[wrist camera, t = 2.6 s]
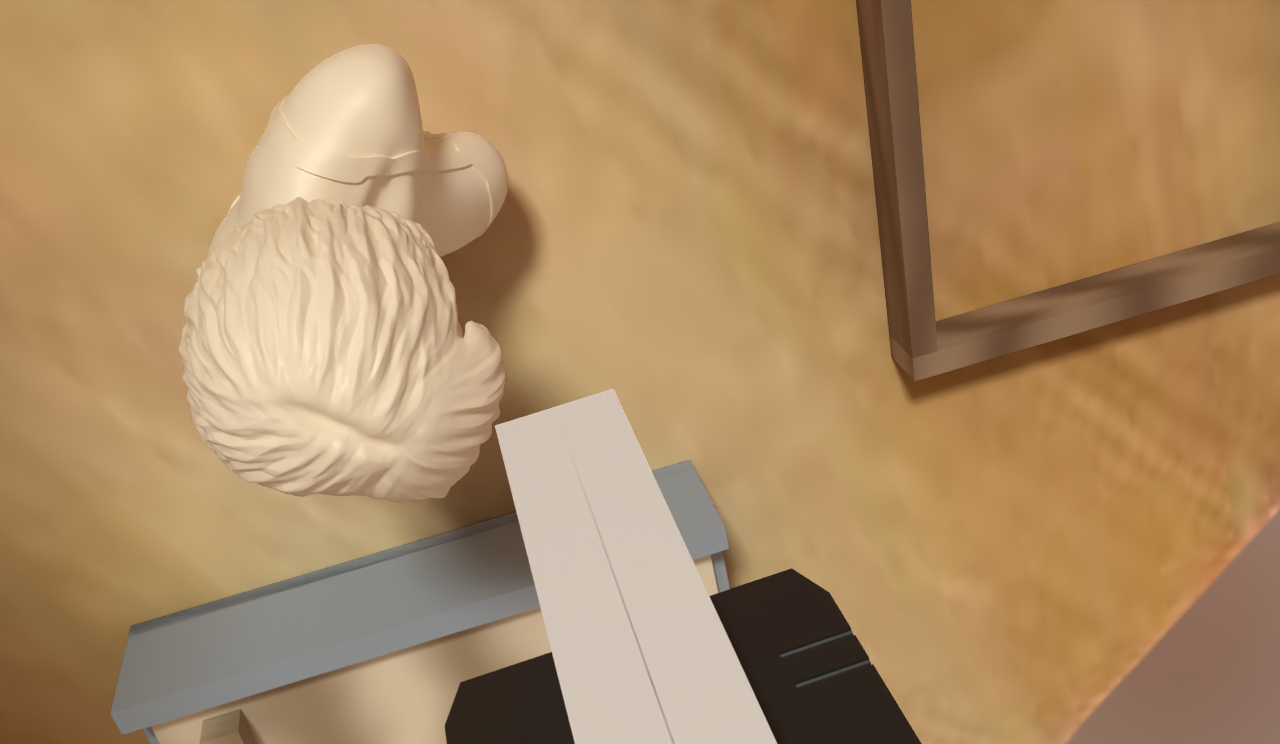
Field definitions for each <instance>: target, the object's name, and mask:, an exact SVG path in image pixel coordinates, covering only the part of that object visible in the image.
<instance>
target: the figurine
mask: <svg viewBox="0 0 1280 744" xmlns="http://www.w3.org/2000/svg"><path fill="white" fill-rule="evenodd" d="M507 189H508V175H507V170H506V166H505V163H504V161H503V159H502V157H501V155H500V153H499V152H498V150H497V149H496V148H495V146H494V145H493V144H492V143H491V142H489V141H488V140H487V139H486V138H484V137H483V136H481V135H479V134H476V133H473V132H465V131H460V132H450V133H443V134H431V133H429V132H426V131H423V127H422V121H421V114H420V108H419V102H418V96H417V91H416V86H415V82H414V78H413V75H412V72H411V69H410V67H409V65H408V64H407V62H406V61H405V59H404V58H403V57H402V56H401V55H400V54H399V53H398V52H397V51H396V50H394V49H392V48H391V47H388V46H385V45H381V44H363V45H358V46H354V47H351V48H348V49H345V50H343V51H340V52H338V53H336V54H334V55H332V56H331V57H329V58H327V59H325V60H324V61H322V62H321V63H319V64H318V65H317V66H315V67H314V68H313V69H312V70H310V71H309V72H308V73H307V74H306V75H305V76H304V77H303V78H302V79H301V80H300V81H299V82H298V84H297V85H296V86H295V88H294V89H293V90H292V92H291V93H290V94H288V95H287V96H286V97H284V98H283V99H282V100H281V101H280V102H279V103H278V104H277V105H276V106H275V107H274V109H273V111H272V113H271V115H270V119H269V123H268V125H267V127H266V129H265V131H264V133H263V135H262V137H261V139H260V140H259V142H258V144H257V145H256V146H255V148H254V149H253V151H252V153H251V154H250V156H249V159H248V161H247V164H246V168H245V172H244V177H243V182H242V188H241V193H240V195H239V196H238V197H237V198H236V199H235V201H234V202H233V204H232V206H231V208H230V210H229V212H228V213H227V214H226V216H225V217H224V219H223V220H222V222H221V224H220V225H219V227H218V229H217V231H216V233H215V235H214V237H213V239H212V242H211V245H210V248H209V251H208V255H207V259H206V260H205V261H204V262H202V264H201V267H199V268H197V269H196V272H197V275H198V280H197V282H196V283H195V285H194V289H193V291H192V292H191V293H190V294H189V295H188V296H187V297H186V299H185V308H184V314H185V318H186V325H185V327H184V328H183V330H182V335H181V343H180V347H179V353H180V356H181V358H182V360H183V364H184V367H185V372H184V375H183V377H182V379H183V381H184V383H185V384H186V385H187V387H188V393H187V400H188V401H189V403H190V409H191V412H192V418H193V423H194V425H195V426H196V428H197V429H198V431H199V432H200V436H201V438H202V439H203V441H204V442H205V443H206V445H207V447H208V448H210V449H211V450H213V451H214V453H215V455H216V456H217V458H218V459H219V460H220V461H222V462H223V463H224V464H225V465H226V466H227V467H228V468H229V469H230V470H231V471H233V472H234V473H236V474H238V476H239V477H240V478H242V479H243V480H245V481H246V482H252V483H257V484H260V485H262V486H264V487H269V488H272V489H275V490H278V491H280V492H283V493H286V494H292V495H295V496H301V497H302V496H308V495H311V494H317V493H318V494H324V495H332V496H349V495H361V496H369V497H371V498H374V499H386V500H390V501H395V502H397V501H405V500H425V499H428V498H444V497H445V496H446V495H447V494H448V492H449V489H450V488H451V486H453V485H454V484H456V482H457V481H459V480H460V479H461V478H462V477H463V476H464V475H465V474H467V473H468V471H469V469H470V466H471V465H472V464H474V463H475V462H476V461H477V459H478V457H479V453H480V445H481V444H483V443H484V442H486V441H487V440H488V439H489V438H490V436H491V434H492V423H493V422H494V421H495V420H496V419H497V418H498V417H499V416H500V409H499V402H500V400H501V399H502V397H503V394H504V386H505V381H506V372H505V369H504V366H503V364H502V362H501V361H502V351H501V348H500V345H499V344H498V342H497V341H496V340H495V339H494V338H493V336H492V335H491V334H490V331H489V330H488V329H487V328H486V327H485V326H484V325H482V324H479V323H476V322H473V321H468V322H467V323H466V325H465V334H463V331H462V328H461V326H460V324H459V322H458V312H457V305H456V296H455V288H454V286H453V284H452V283H451V281H450V279H449V273H448V270H447V268H446V266H445V264H444V262H443V261H442V259H441V258H440V257H442V256H444V255H447V254H449V253H451V252H454V251H456V250H458V249H460V248H462V247H463V246H465V245H467V244H468V243H470V242H471V241H472V240H475V239H477V238H478V237H480V236H481V235H482V234H483V233H484V232H485V231H486V230H487V229H488V227H489V226H490V225H491V223H492V222H493V220H494V219H495V217H496V216H497V214H498V213H499V211H500V209H501V207H502V205H503V203H504V200H505V198H506V194H507Z"/></svg>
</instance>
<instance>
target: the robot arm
mask: <svg viewBox="0 0 1280 744" xmlns="http://www.w3.org/2000/svg"><path fill="white" fill-rule="evenodd" d="M495 429H496V433H497V437H498V441H499V445H500V449H501V453H502V457H503V461H504V465H505V468H506V472H507V476H508V480H509V484H510V488H511V492H512V496H513V500H514V504H515V508H516V512H517V516H518V520H519V524H520V528H521V532H522V536H523V540H524V544H525V548H526V552H527V556H528V560H529V564H530V568H531V572H532V575H533V579H534V583H535V587H536V591H537V595H538V599H539V603H540V607H541V611H542V615H543V619H544V623H545V627H546V631H547V635H548V639H549V643H550V647H551V651H552V652H550V653H547V654H544V655H541V656H538V657H535V658H532V659H529V660H526V661H523V662H520V663H517V664H514V665H511V666H508V667H505V668H502V669H499V670H496V671H493V672H490V673H487V674H484V675H481V676H478V677H475V678H472V679H469V680H466V681H463V682H460V685H459V687H458V690H457V693H456V696H455V698H454V701H453V704H452V707H451V709H450V712H449V715H448V718H447V720H446V723H445V734H446V742H447V744H921V742H920V741H919V739H918V737H917V736H916V734H915V732H914V731H913V729H912V727H911V726H910V724H909V723H908V721H907V719H906V718H905V716H904V714H903V713H902V711H901V709H900V708H899V706H898V704H897V703H896V701H895V700H894V698H893V696H892V695H891V693H890V691H889V690H888V688H887V686H886V685H885V683H884V682H883V680H882V678H881V677H880V675H879V673H878V672H877V670H876V668H875V667H874V665H871V663H870V660H869V657H868V655H867V654H866V652H865V650H864V649H863V647H862V645H861V644H860V642H859V641H858V639H857V637H856V636H855V635H853V633H852V631H851V627H850V626H849V624H848V622H847V621H846V619H845V618H844V616H843V614H842V613H841V611H840V609H839V608H838V606H837V604H836V603H835V601H834V600H833V598H832V596H831V595H830V593H829V592H827V591H826V590H824V589H823V588H821V587H820V586H818V585H817V584H815V583H813V582H812V581H810V580H809V579H807V578H806V577H804V576H803V575H801V574H800V573H798V572H796V571H795V570H793V569H789V570H786V571H783V572H780V573H777V574H774V575H771V576H768V577H765V578H762V579H759V580H756V581H753V582H750V583H747V584H744V585H741V586H738V587H735V588H732V589H729V590H726V591H723V592H720V593H717V594H714V595H711V596H709V595H708V592H707V590H706V588H705V586H704V584H703V581H702V579H701V577H700V575H699V573H698V571H697V568H696V566H695V564H694V562H693V560H692V558H691V555H690V553H689V551H688V549H687V547H686V545H685V542H684V540H683V538H682V536H681V534H680V532H679V529H678V527H677V525H676V523H675V521H674V519H673V516H672V514H671V512H670V510H669V508H668V506H667V503H666V501H665V499H664V497H663V495H662V493H661V490H660V488H659V486H658V484H657V482H656V480H655V477H654V475H653V473H652V471H651V469H650V467H649V464H648V462H647V460H646V458H645V456H644V454H643V451H642V449H641V447H640V445H639V443H638V441H637V438H636V436H635V434H634V432H633V430H632V428H631V425H630V423H629V421H628V419H627V417H626V415H625V412H624V410H623V408H622V406H621V404H620V401H619V399H618V397H617V395H616V393H615V391H614V389H610V390H607V391H604V392H601V393H598V394H594V395H591V396H588V397H585V398H582V399H578V400H575V401H572V402H569V403H565V404H562V405H559V406H556V407H553V408H549V409H546V410H543V411H540V412H537V413H533V414H530V415H527V416H524V417H521V418H517V419H514V420H511V421H508V422H505V423H501V424H498V425H495Z"/></svg>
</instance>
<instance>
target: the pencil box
mask: <svg viewBox="0 0 1280 744" xmlns="http://www.w3.org/2000/svg"><path fill="white" fill-rule="evenodd" d="M652 473H653V475H654V477H655V480H656V482H657V484H658V486H659V488H660V490H661V493H662V495H663V497H664V499H665V501H666V503H667V506H668V508H669V510H670V512H671V514H672V516H673V519H674V521H675V523H676V525H677V527H678V529H679V532H680V534H681V536H682V538H683V540H684V542H685V545H686V547H687V549H688V551H689V553H690V555H691V558H692V560H694V559H698V558H701V557H704V556H707V555H711V560H712V565H713V570H714V575H715V580H716V585H717V590H718V593H720V592H723V591H726V590H729V589H730V587H729V582H728V577H727V571H726V566H725V561H724V556H723V551H724V550H727V549H729V545H728V539H727V534H726V529H725V526H724V524H723V522H722V520H721V518H720V516H719V514H718V512H717V510H716V509H715V507H714V505H713V503H712V501H711V499H710V497H709V495H708V493H707V491H706V489H705V487H704V486H703V484H702V482H701V480H700V478H699V476H698V474H697V472H696V470H695V468H694V466H693V465H692V463H691V461H690V460H689V461H686V462H682V463H679V464H676V465H672V466H669V467H665V468H662V469H659V470H655V471H652ZM538 607H540V603H539V599H538V595H537V591H536V587H535V583H534V579H533V575H532V572H531V568H530V564H529V560H528V556H527V552H526V548H525V544H524V540H523V536H522V532H521V528H520V524H519V520H518V516H517V512H514V513H510V514H507V515H504V516H500V517H497V518H494V519H490V520H487V521H483V522H480V523H477V524H473V525H470V526H467V527H463V528H460V529H456V530H453V531H450V532H446V533H443V534H440V535H436V536H433V537H430V538H426V539H423V540H419V541H416V542H413V543H409V544H406V545H403V546H399V547H396V548H392V549H389V550H386V551H382V552H379V553H376V554H372V555H369V556H365V557H362V558H359V559H355V560H352V561H349V562H345V563H342V564H338V565H335V566H332V567H328V568H325V569H322V570H318V571H315V572H312V573H308V574H305V575H301V576H298V577H295V578H291V579H288V580H285V581H281V582H278V583H274V584H271V585H268V586H264V587H261V588H258V589H254V590H251V591H247V592H244V593H241V594H237V595H234V596H231V597H227V598H224V599H221V600H217V601H214V602H210V603H207V604H204V605H200V606H197V607H194V608H190V609H187V610H183V611H180V612H177V613H173V614H170V615H167V616H163V617H160V618H156V619H153V620H150V621H146V622H143V623H140V624H136V625H133V626H131V628H130V632H129V637H128V641H127V645H126V649H125V654H124V658H123V662H122V666H121V670H120V675H119V679H118V683H117V687H116V692H115V696H114V700H113V704H112V708H111V713H110V714H111V716H112V718H113V720H114V721H115V723H116V725H117V727H118V728H119V730H120V732H121V734H122V735H124V734H127V733H130V732H134V731H137V730H140V729H143V731H144V733H145V734H146V736H147V738H148V740H149V742H150V743H151V744H160V743H159V741H158V739H157V737H156V735H155V734H154V732H153V730H152V728H151V726H153V725H156V724H160V723H163V722H166V721H169V720H173V719H176V718H179V717H182V716H186V715H189V714H192V713H196V712H199V711H202V710H205V709H209V708H212V707H215V706H218V705H222V704H225V703H228V702H231V701H235V700H238V699H241V698H244V697H248V696H251V695H254V694H257V693H261V692H264V691H267V690H271V689H274V688H277V687H280V686H284V685H287V684H290V683H293V682H297V681H300V680H303V679H306V678H310V677H313V676H316V675H319V674H323V673H326V672H329V671H332V670H336V669H339V668H342V667H346V666H349V665H352V664H355V663H359V662H362V661H365V660H368V659H372V658H375V657H378V656H381V655H385V654H388V653H391V652H394V651H398V650H401V649H404V648H407V647H411V646H414V645H417V644H421V643H424V642H427V641H430V640H434V639H437V638H440V637H443V636H447V635H450V634H453V633H456V632H460V631H463V630H466V629H469V628H473V627H476V626H479V625H482V624H486V623H489V622H492V621H496V620H499V619H502V618H505V617H509V616H512V615H515V614H518V613H522V612H525V611H528V610H531V609H535V608H538Z"/></svg>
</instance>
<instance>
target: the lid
mask: <svg viewBox="0 0 1280 744" xmlns="http://www.w3.org/2000/svg"><path fill="white" fill-rule="evenodd" d="M693 562H694V564H695V566H696V568H697V571H698V573H699V575H700V577H701V579H702V581H703V584H704V586H705V588H706V590H707V592H708V595H709V596H711V595H714V594H717V593H718V590H717V585H716V580H715V575H714V570H713V565H712V560H711V555H707V556H704V557H701V558H698V559H694V560H693ZM550 652H552V651H551V647H550V643H549V639H548V635H547V631H546V627H545V623H544V619H543V615H542V611H541V607H538V608H535V609H531V610H528V611H525V612H522V613H518V614H515V615H512V616H509V617H505V618H502V619H499V620H496V621H492V622H489V623H486V624H482V625H479V626H476V627H473V628H469V629H466V630H463V631H460V632H456V633H453V634H450V635H447V636H443V637H440V638H437V639H434V640H430V641H427V642H424V643H421V644H417V645H414V646H411V647H407V648H404V649H401V650H398V651H394V652H391V653H388V654H385V655H381V656H378V657H375V658H372V659H368V660H365V661H362V662H359V663H355V664H352V665H349V666H346V667H342V668H339V669H336V670H332V671H329V672H326V673H323V674H319V675H316V676H313V677H310V678H306V679H303V680H300V681H297V682H293V683H290V684H287V685H284V686H280V687H277V688H274V689H271V690H267V691H264V692H261V693H257V694H254V695H251V696H248V697H244V698H241V699H238V700H235V701H231V702H228V703H225V704H222V705H218V706H215V707H212V708H209V709H205V710H202V711H199V712H196V713H192V714H189V715H186V716H182V717H179V718H176V719H173V720H169V721H166V722H163V723H160V724H156V725H153V726H151V728H152V730H153V732H154V734H155V735H156V737H157V739H158V741H159V743H160V744H447V742H446V734H445V723H446V720H447V718H448V715H449V712H450V709H451V707H452V704H453V701H454V698H455V696H456V693H457V690H458V687H459V685H460V682H463V681H466V680H469V679H472V678H475V677H478V676H481V675H484V674H487V673H490V672H493V671H496V670H499V669H502V668H505V667H508V666H511V665H514V664H517V663H520V662H523V661H526V660H529V659H532V658H535V657H538V656H541V655H544V654H547V653H550Z"/></svg>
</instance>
